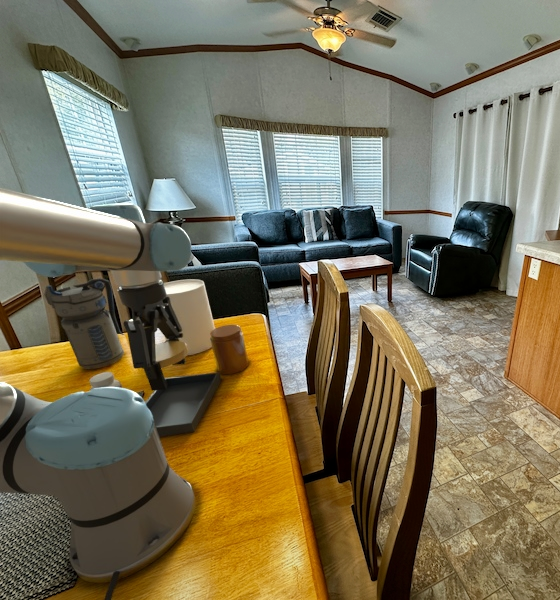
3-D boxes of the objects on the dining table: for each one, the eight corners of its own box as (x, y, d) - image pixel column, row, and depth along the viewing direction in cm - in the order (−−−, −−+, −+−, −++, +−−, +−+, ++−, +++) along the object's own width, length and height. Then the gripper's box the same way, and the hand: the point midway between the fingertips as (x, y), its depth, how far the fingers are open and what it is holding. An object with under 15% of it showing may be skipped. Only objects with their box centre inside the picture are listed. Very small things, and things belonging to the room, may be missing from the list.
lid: (129, 371, 68) (126, 364, 67) (151, 349, 76) (149, 342, 76) (177, 367, 70) (175, 359, 69) (194, 345, 78) (192, 339, 77)
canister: (160, 348, 104) (142, 289, 96) (203, 331, 114) (189, 277, 107) (183, 360, 97) (164, 297, 90) (226, 341, 108) (213, 283, 100)
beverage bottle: (140, 355, 100) (113, 277, 90) (84, 376, 89) (47, 291, 80) (126, 346, 105) (100, 271, 96) (72, 365, 95) (36, 284, 85)
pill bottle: (128, 414, 76) (114, 378, 72) (98, 423, 73) (82, 387, 69) (130, 401, 80) (117, 367, 76) (102, 409, 77) (87, 374, 73)
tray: (194, 432, 70) (191, 422, 69) (124, 441, 68) (121, 432, 67) (221, 379, 88) (219, 371, 87) (167, 385, 85) (164, 377, 84)
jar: (244, 372, 91) (237, 335, 87) (213, 375, 89) (204, 338, 85) (251, 357, 98) (244, 323, 94) (222, 360, 97) (214, 325, 92)
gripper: (146, 268, 76) (173, 352, 84) (81, 304, 56) (123, 410, 64) (182, 266, 77) (204, 349, 85) (130, 301, 57) (166, 404, 65)
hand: (170, 375), depth 75 cm, fingers closed on lid, 9 cm apart
